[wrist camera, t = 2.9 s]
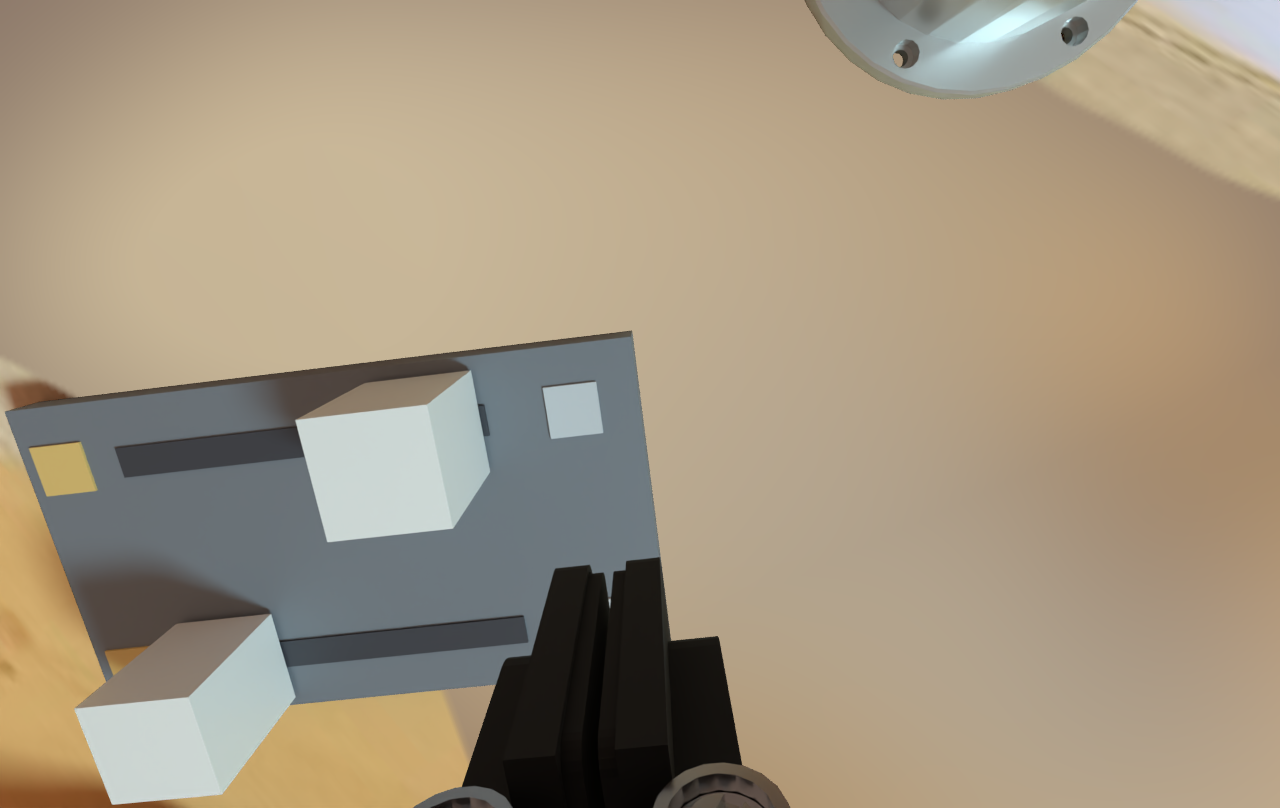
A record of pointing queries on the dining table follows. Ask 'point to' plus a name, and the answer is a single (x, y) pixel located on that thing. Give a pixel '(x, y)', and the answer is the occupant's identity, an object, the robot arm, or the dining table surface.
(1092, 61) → the dining table surface
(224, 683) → the tab far
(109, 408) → the switch panel
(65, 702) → the dining table surface
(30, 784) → the dining table surface
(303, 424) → the tab near
